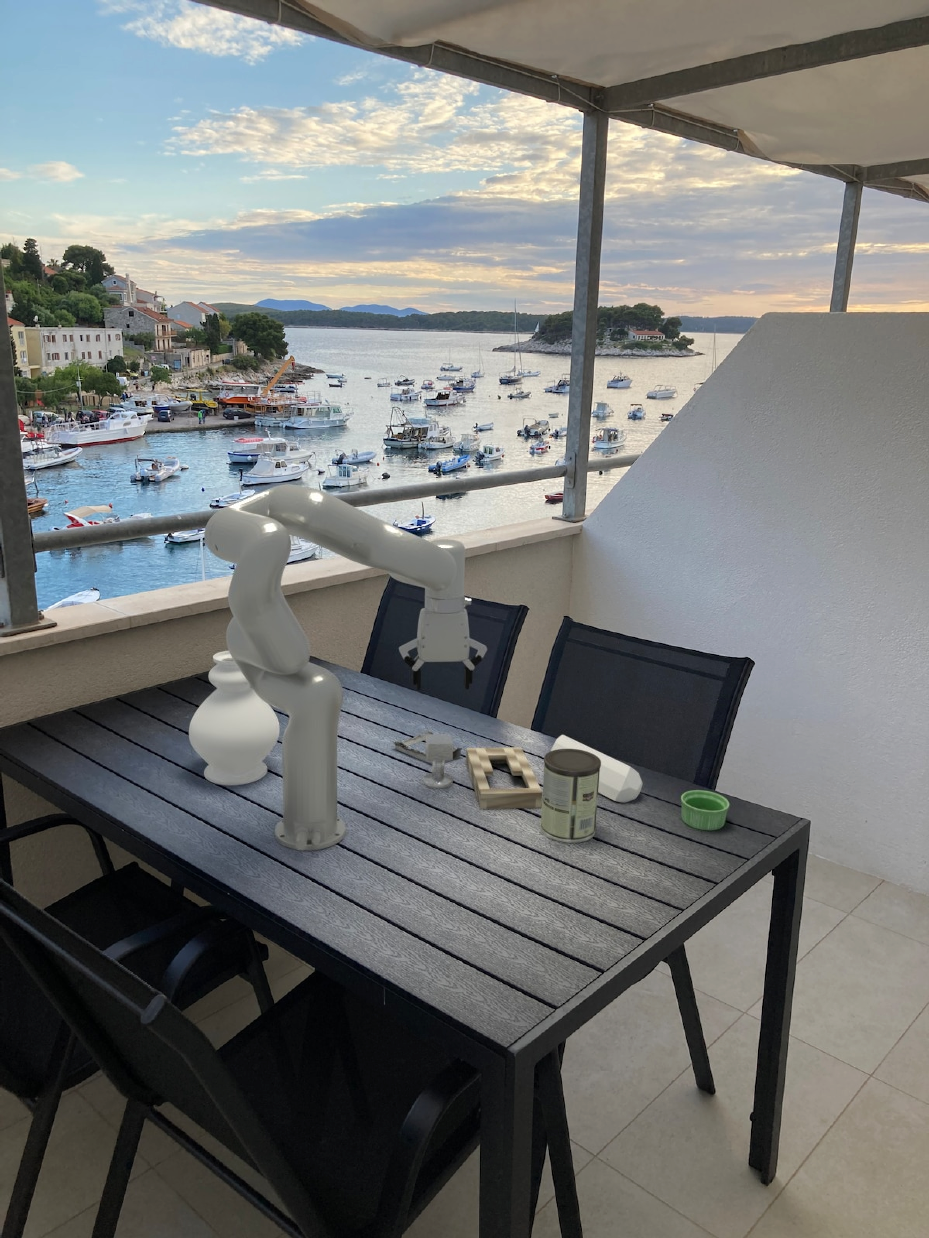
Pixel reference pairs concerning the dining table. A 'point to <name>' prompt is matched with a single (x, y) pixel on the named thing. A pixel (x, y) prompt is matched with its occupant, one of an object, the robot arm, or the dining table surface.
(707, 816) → the ramekin
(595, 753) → the crystal
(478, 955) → the dining table surface
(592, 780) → the coffee can
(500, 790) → the keyhole plate
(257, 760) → the decorative vase
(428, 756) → the keyhole peg
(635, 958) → the dining table surface
